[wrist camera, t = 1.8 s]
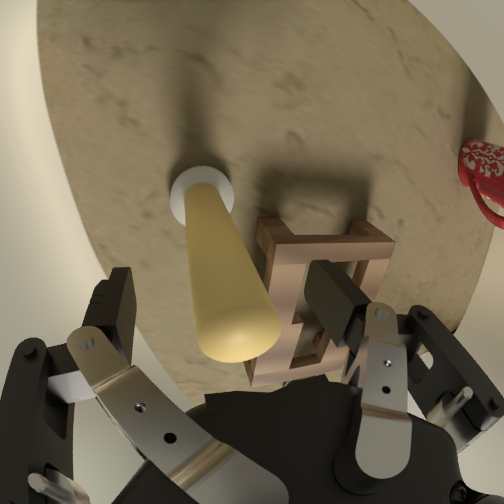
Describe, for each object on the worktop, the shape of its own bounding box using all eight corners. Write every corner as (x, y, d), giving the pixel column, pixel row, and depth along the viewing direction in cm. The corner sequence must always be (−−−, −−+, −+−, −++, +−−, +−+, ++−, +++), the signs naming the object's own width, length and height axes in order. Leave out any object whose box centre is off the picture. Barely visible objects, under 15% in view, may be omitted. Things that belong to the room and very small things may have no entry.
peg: (170, 165, 20) (154, 275, 7) (233, 166, 21) (327, 267, 8) (170, 224, 22) (171, 384, 9) (229, 223, 23) (295, 369, 10)
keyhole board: (257, 218, 24) (276, 244, 19) (366, 220, 27) (395, 242, 23) (241, 355, 32) (251, 387, 28) (326, 342, 35) (341, 368, 31)
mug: (477, 122, 24) (553, 150, 13) (485, 173, 29) (549, 207, 17) (435, 160, 25) (526, 203, 14) (445, 215, 30) (517, 264, 19)
